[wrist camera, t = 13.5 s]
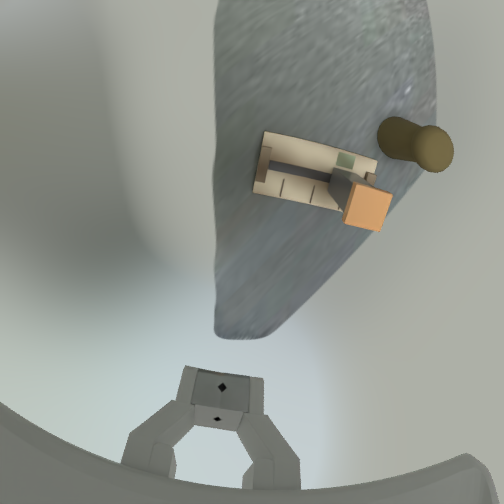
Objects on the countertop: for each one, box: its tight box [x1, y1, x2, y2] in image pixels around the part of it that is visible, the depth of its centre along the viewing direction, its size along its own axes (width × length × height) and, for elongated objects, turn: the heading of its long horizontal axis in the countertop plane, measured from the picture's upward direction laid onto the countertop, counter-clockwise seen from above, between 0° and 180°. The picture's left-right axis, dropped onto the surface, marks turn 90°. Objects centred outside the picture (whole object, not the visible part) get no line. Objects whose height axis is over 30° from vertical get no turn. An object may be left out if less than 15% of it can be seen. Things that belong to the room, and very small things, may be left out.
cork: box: [377, 117, 454, 173], centre depth 26 cm, size 6×6×11 cm
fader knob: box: [327, 167, 393, 232], centre depth 29 cm, size 4×4×10 cm
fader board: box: [253, 131, 377, 212], centre depth 33 cm, size 8×15×2 cm, turn 80°
